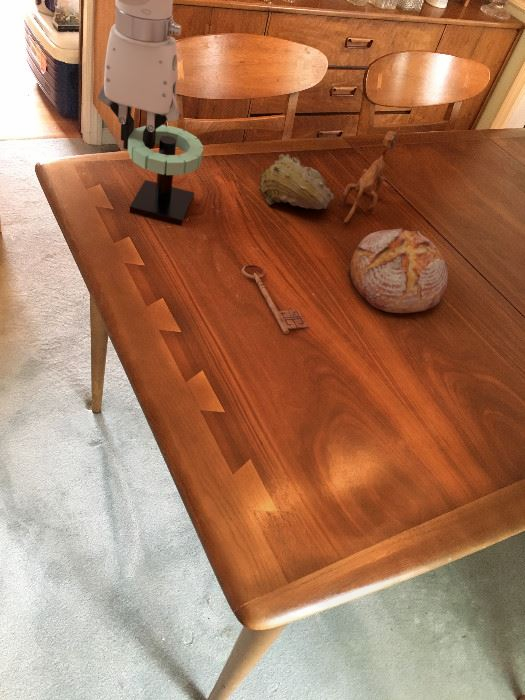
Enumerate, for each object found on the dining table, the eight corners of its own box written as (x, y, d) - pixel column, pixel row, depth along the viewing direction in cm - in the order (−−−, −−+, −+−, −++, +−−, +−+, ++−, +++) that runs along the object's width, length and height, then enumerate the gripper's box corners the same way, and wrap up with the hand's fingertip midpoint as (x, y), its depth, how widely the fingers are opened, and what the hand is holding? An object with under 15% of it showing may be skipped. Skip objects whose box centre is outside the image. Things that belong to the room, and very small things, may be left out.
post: (129, 212, 94) (131, 145, 85) (144, 185, 100) (148, 120, 91) (181, 225, 94) (189, 160, 85) (193, 198, 100) (201, 134, 91)
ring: (118, 163, 86) (118, 149, 84) (141, 130, 94) (141, 118, 92) (192, 182, 86) (193, 169, 85) (207, 148, 94) (209, 136, 93)
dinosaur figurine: (358, 235, 103) (385, 169, 93) (326, 220, 104) (350, 153, 94) (385, 194, 115) (411, 132, 105) (356, 182, 116) (380, 119, 106)
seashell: (320, 233, 103) (342, 187, 96) (247, 203, 102) (264, 154, 95) (327, 204, 111) (348, 159, 104) (260, 176, 110) (276, 129, 103)
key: (307, 332, 83) (269, 266, 92) (309, 327, 83) (271, 262, 91) (273, 335, 81) (238, 267, 89) (275, 331, 80) (239, 263, 88)
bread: (331, 299, 91) (346, 249, 83) (365, 240, 104) (380, 192, 97) (428, 337, 87) (452, 288, 80) (449, 271, 101) (472, 224, 94)
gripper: (206, 31, 79) (191, 150, 93) (95, 0, 79) (96, 125, 92) (194, 49, 74) (180, 172, 88) (75, 16, 73) (80, 145, 87)
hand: (137, 147), depth 90 cm, fingers closed on ring, 2 cm apart
